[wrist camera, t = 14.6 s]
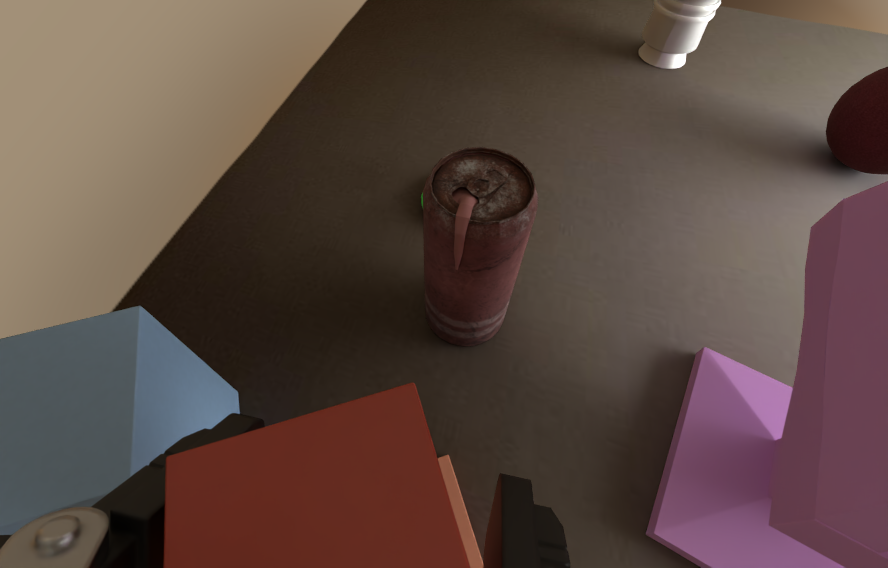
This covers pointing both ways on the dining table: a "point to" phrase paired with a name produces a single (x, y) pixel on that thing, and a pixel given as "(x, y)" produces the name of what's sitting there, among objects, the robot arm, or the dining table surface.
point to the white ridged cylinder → (675, 30)
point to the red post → (316, 493)
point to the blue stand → (95, 409)
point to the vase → (794, 425)
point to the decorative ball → (862, 125)
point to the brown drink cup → (474, 240)
